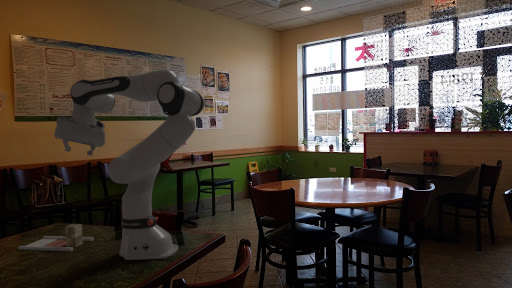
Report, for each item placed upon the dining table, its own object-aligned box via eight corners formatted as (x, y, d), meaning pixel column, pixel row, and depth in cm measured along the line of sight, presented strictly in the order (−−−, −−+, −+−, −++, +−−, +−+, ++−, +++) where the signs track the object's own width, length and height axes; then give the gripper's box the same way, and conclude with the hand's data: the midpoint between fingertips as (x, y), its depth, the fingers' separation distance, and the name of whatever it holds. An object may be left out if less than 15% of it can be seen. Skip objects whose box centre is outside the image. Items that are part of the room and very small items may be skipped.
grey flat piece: (93, 239, 160) (93, 237, 160) (71, 251, 145) (71, 248, 145) (44, 238, 164) (44, 236, 164) (18, 249, 149) (18, 246, 149)
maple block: (82, 243, 155) (81, 224, 155) (75, 247, 151) (75, 226, 150) (73, 243, 156) (72, 223, 156) (66, 246, 151) (65, 226, 151)
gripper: (61, 113, 142) (57, 147, 138) (108, 125, 158) (105, 156, 155) (53, 116, 145) (49, 149, 142) (100, 128, 162) (97, 158, 158)
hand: (78, 153), depth 148 cm, fingers open, 8 cm apart
